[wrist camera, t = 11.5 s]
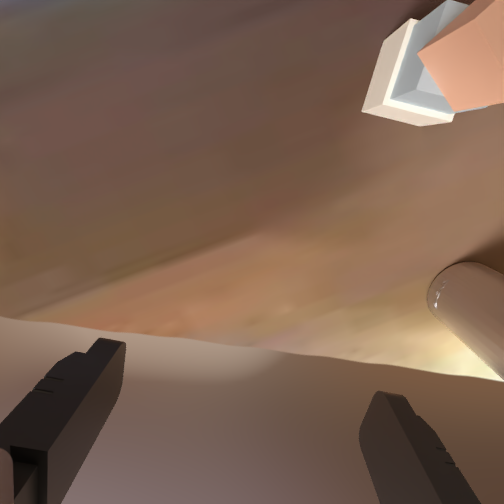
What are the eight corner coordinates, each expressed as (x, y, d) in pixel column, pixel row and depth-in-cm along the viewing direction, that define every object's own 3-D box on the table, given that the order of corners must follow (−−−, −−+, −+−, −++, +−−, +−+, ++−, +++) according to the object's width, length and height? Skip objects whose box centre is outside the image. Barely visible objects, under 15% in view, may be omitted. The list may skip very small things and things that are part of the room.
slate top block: (477, 42, 27) (524, 20, 23) (449, 114, 29) (486, 107, 24) (413, 25, 27) (447, -1, 22) (389, 99, 29) (416, 89, 24)
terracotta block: (517, 58, 23) (612, 26, 17) (454, 111, 25) (520, 99, 18) (482, -6, 22) (569, -66, 16) (416, 53, 23) (474, 18, 17)
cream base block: (445, 57, 33) (484, 38, 27) (419, 126, 35) (451, 122, 29) (383, 41, 33) (410, 18, 27) (361, 111, 35) (382, 104, 29)
